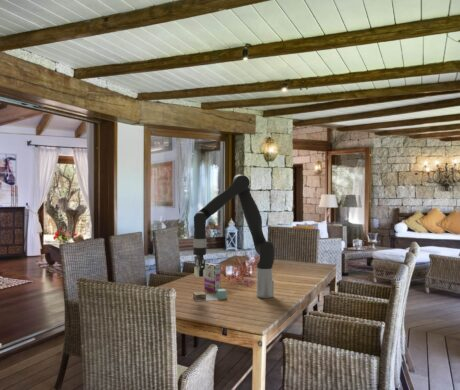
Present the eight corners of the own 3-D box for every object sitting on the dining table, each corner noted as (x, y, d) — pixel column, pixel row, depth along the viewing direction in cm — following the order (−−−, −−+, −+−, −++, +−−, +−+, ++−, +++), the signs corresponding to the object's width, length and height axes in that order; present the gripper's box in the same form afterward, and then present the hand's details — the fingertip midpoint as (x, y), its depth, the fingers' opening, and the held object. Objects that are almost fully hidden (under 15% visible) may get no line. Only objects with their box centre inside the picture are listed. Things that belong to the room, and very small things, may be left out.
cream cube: (202, 274, 235) (202, 266, 235) (205, 276, 230) (205, 268, 230) (194, 275, 233) (194, 267, 233) (196, 277, 228) (196, 268, 228)
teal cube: (223, 296, 237) (223, 288, 236) (226, 298, 232) (226, 290, 232) (216, 297, 235) (216, 289, 235) (219, 299, 231) (219, 291, 231)
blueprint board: (218, 293, 243) (218, 293, 243) (225, 299, 231) (225, 298, 231) (190, 296, 237) (190, 295, 237) (196, 302, 225) (196, 301, 225)
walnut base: (202, 296, 236) (202, 291, 236) (206, 299, 230) (206, 294, 230) (193, 297, 234) (193, 292, 234) (196, 300, 228) (196, 294, 228)
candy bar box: (220, 290, 251) (221, 264, 251) (214, 292, 248) (214, 265, 248) (210, 287, 260) (210, 262, 259) (204, 288, 256) (204, 263, 256)
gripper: (209, 247, 226) (209, 277, 226) (202, 244, 239) (202, 272, 240) (197, 248, 223) (196, 278, 224) (190, 244, 237) (190, 273, 237)
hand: (199, 275), depth 232 cm, fingers closed on cream cube, 5 cm apart
